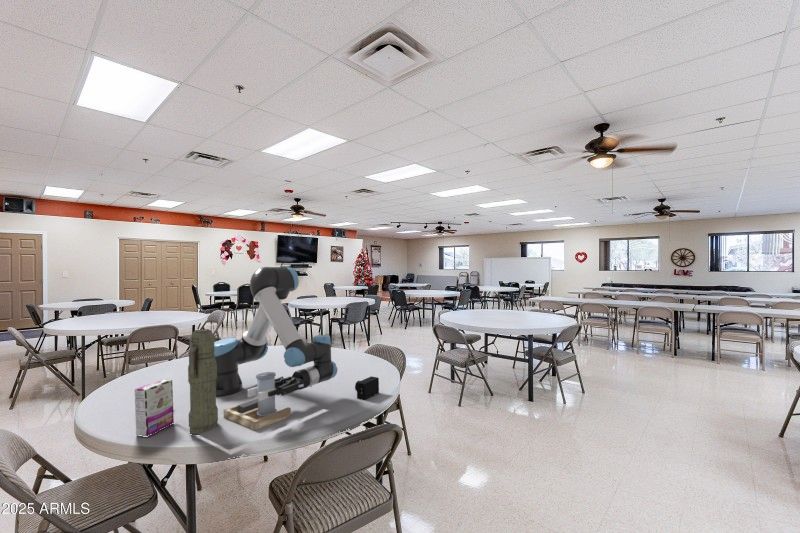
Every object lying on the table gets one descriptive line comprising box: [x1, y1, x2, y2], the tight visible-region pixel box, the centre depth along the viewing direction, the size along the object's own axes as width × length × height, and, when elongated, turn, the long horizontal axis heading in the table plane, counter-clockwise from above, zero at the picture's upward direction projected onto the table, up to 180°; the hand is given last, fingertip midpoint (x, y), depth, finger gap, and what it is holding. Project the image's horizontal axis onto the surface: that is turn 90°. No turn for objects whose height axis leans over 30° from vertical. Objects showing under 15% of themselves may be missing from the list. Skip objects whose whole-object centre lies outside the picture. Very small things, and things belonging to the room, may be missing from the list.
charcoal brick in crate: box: [237, 397, 258, 414], centre depth 136 cm, size 4×9×4 cm, turn 145°
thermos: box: [187, 328, 219, 436], centre depth 125 cm, size 9×12×35 cm
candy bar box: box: [134, 378, 175, 436], centre depth 125 cm, size 11×5×16 cm, turn 168°
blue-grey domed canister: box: [255, 371, 277, 417], centre depth 131 cm, size 7×7×14 cm
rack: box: [223, 397, 292, 431], centre depth 133 cm, size 20×14×4 cm
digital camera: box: [354, 375, 380, 401], centre depth 156 cm, size 10×5×7 cm, turn 147°
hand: (253, 395), depth 126 cm, fingers closed on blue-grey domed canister, 6 cm apart
